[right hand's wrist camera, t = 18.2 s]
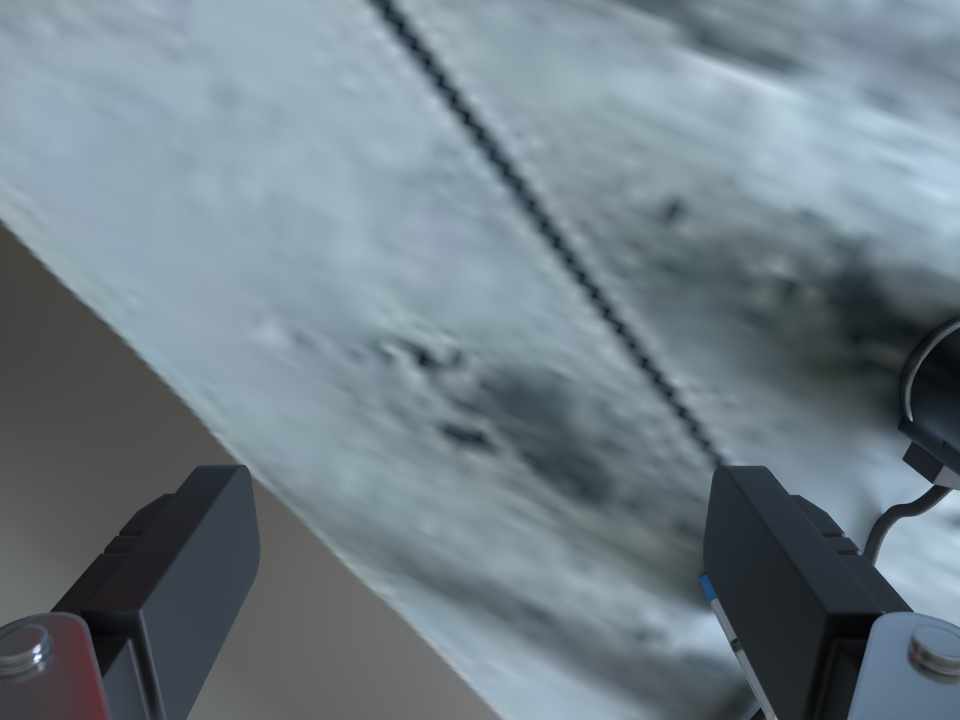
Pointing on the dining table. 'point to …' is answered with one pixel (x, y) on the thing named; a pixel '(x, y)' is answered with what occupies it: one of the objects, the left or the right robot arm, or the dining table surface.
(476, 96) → the dining table surface
